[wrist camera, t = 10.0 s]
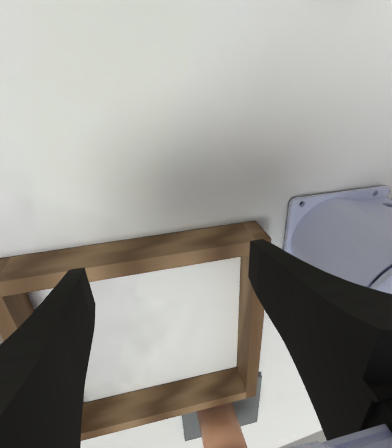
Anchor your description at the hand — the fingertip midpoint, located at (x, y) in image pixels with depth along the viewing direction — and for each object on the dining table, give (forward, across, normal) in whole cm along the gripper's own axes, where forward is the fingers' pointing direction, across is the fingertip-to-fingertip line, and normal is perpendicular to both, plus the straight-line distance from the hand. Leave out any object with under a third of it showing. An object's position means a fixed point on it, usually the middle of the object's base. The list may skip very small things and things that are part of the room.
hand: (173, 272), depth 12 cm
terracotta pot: (+9, -4, +29) cm, 31 cm away
